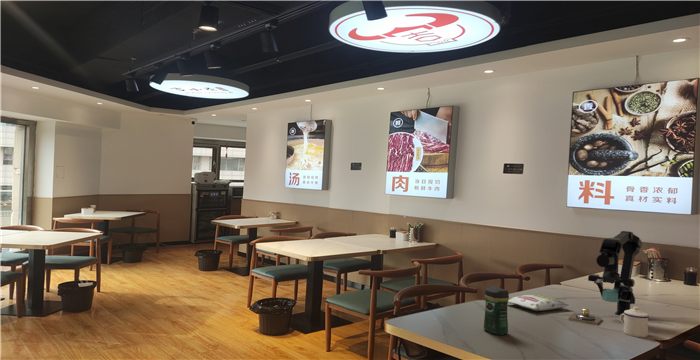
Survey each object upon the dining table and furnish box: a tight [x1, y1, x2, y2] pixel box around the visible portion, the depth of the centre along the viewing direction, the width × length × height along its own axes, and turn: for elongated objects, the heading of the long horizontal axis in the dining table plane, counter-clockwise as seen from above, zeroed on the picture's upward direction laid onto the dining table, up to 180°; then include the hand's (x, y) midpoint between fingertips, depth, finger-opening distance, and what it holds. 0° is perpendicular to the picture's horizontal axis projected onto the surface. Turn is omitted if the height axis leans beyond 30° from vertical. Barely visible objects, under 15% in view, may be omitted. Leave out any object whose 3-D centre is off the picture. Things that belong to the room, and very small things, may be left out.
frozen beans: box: [508, 294, 570, 312], centre depth 236 cm, size 21×6×25 cm
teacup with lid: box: [619, 306, 650, 338], centre depth 198 cm, size 12×9×12 cm
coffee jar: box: [483, 285, 510, 336], centre depth 192 cm, size 10×8×19 cm
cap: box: [601, 288, 619, 303], centre depth 218 cm, size 6×6×5 cm
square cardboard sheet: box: [567, 308, 603, 326], centre depth 216 cm, size 12×12×5 cm
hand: (610, 298), depth 218 cm, fingers closed on cap, 6 cm apart
